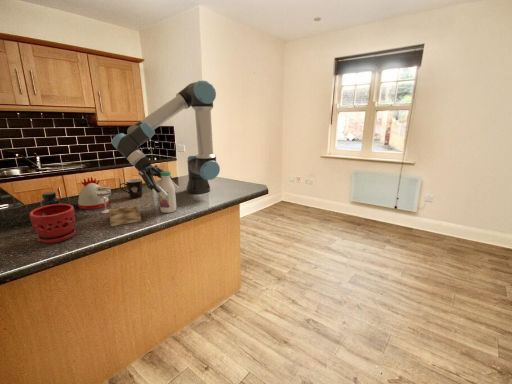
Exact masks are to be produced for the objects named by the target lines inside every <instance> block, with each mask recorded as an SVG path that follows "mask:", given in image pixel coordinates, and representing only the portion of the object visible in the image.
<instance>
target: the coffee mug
mask: <svg viewBox="0 0 512 384" xmlns="http://www.w3.org/2000/svg"><path fill="white" fill-rule="evenodd" d="M125 182H126V183H124V182H123V183H120V184H119V189H120V190H122V192H123V191H124V192H126V193H127V194H128V195H129V197H130V198H129V199H134V200H135V199H141V198H142V197H143V178H142V179H141V178H131V179H127V180H126V181H125ZM122 185H125V186H126V187H127V190H128V191H127V190H125V189H123V188H122V187H121V186H122Z"/></svg>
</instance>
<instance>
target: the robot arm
mask: <svg viewBox="0 0 512 384" xmlns="http://www.w3.org/2000/svg"><path fill="white" fill-rule="evenodd" d="M216 97H217V91H216V88H215V86H214V85H213V84H212V83H211V82H210V81H208V80H198V81H194V82H191V83H189V84H188V85H186V86H185V87H184V88H183V89H181V90H180V91H178V92H177V93H176V94H175V97H174V98H172V99H171V100H169V101H167V102H166V103H165V104H163V105H162V106H160V107H159V108H157V109H155V110H154V111H153V112H151V113H150V114H148V115H146V116H145V117H144V118H142V119H141V120H139V121H137V122H136V123H135V124H133V125H130V126H129V127H128V128H127V131H126V132H127V134H125V133H123V132H121V133H118V134H116V135H115V136H113V138H112V139H111V145H112V146H113V148H115V149H116V150H117V151H118V152H119V153H120V155H122V156H123V157H124V158H125V159H126V160H127V161H128V162H129V163H130V164H131V166H133V167H134V168H135V170H137V171H138V175H139V176H140V177H141V178H142V181H144V184H145V186H146V187H147V189H150V190H154V191H155V192H156V193H157V195H158V196H159V195H160V196H161V197H162V198H163V199H164V198H165V197H166V196H167V195H168V194H167V193H166V192H165V191H164V190H163V189H162V188H161V187H160V186H159V185H160V184H156V180H155V177H158V178H159V179H161V174H160V173H161V172H163V171H164V170H163V169H162V168H160V167H159V166H158V165H157V164H155V165H154V166H153V165H152V160H150V159H149V158H148V156H146V154H145V153H144V152H143V151H141V150H140V149H139V147H140V146H141V145H143V144H144V143H146V142H147V141H148V140H150V139H151V138H152V137H153V136H154V135H156V132H155V130H156V129H157V128H159V127H160V126H161V125H163V124H164V123H166V122H167V121H169V120H170V119H171V118H173V117H175V116H176V115H177V114H179V113H180V112H182V111H183V110H187V109H189V108H191V109H193V110H194V113H195V114H194V115H195V127H196V139H197V140H196V143H197V155H189V156H188V157H187V160H186V163H187V173H188V174H187V175H188V181H187V185H186V192H187V193H189V194H196V195H197V194H205V193H209V192H210V191H211V185H210V183H209V181H212V180H214V179H215V178H217V177H218V176H219V174H220V169H221V168H220V164H219V163H218V162H217V155H216V154H215V153H214V147H213V145H214V144H213V131H212V129H213V127H212V126H213V125H212V110H213V108H214V102H215V100H216ZM170 178H171V181H172V183H173V185H174V188H175V192H177V191H178V190H179V189H180V187H179V186H178V185H177V184H176V183H175V182H174V181H173V180H172V179H173V178H172V175H170Z"/></svg>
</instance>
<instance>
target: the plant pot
mask: <svg viewBox="0 0 512 384" xmlns="http://www.w3.org/2000/svg"><path fill="white" fill-rule="evenodd" d="M55 210H56V211H57V212H56V213H54V211H55ZM43 213H46V215H45V216H43ZM50 213H51V214H52V215H49V214H50ZM29 219H30V222H31V225H32V228H33V229H34V231H35V233H37V236H38V237H37V239H38V241H39V242H41V243H45V244H55V243H59V242H65V241H66V240H68V239H70V238H72V237H73V236H74V235H75V234H76V230H77V229H75V226H76V225H75V223H76V213H75V207H74V206H73V205H72V204H68V203H60V204H53V205H47V206H43V207H41V206H40V207H37V208H35V209H33V210H31V211H30V212H29Z"/></svg>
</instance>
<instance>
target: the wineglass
mask: <svg viewBox="0 0 512 384" xmlns="http://www.w3.org/2000/svg"><path fill="white" fill-rule="evenodd" d="M95 190H96V191H95V194H96V196H98V197H99V198H102V199H104V204H105V206H104V209H103V210H101V211H100V213H101V214H106V213H107V214H109V210H110V209H108V208H107V205H106V200H105V199H106V198H107V197H108V198H109V197H110V196H111V195H112V190H111V186H109V185H108V186H107V185H105V186H100V187H97V188H95Z"/></svg>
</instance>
